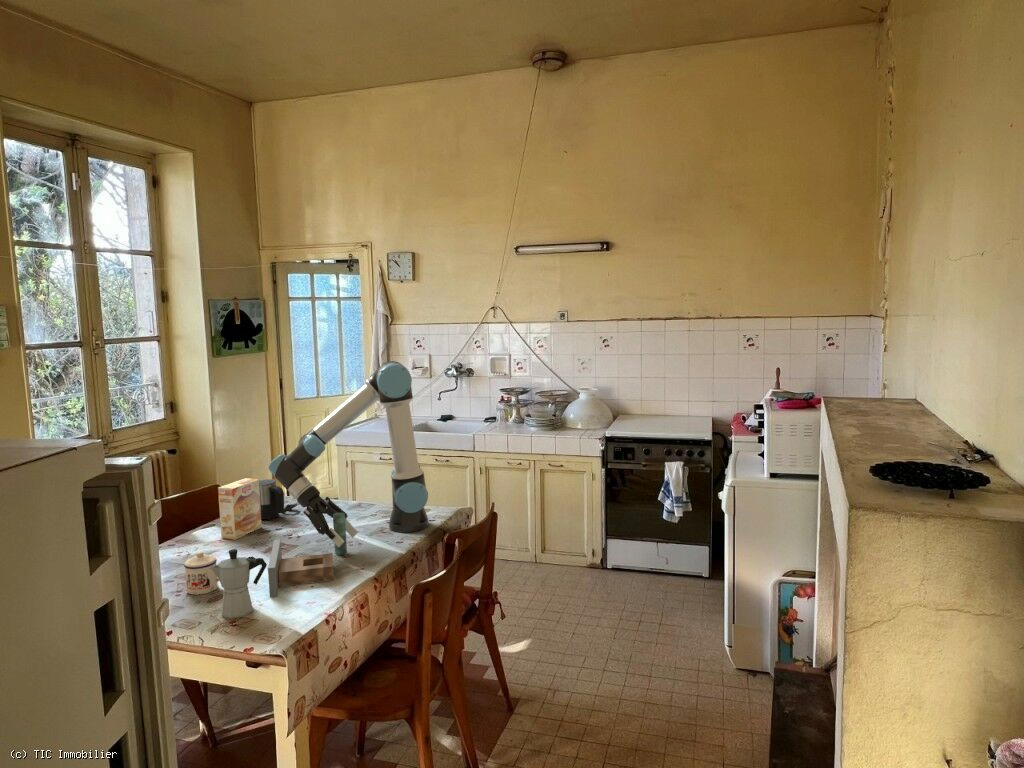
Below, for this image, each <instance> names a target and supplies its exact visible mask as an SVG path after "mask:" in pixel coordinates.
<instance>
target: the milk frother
mask: <svg viewBox="0 0 1024 768" xmlns="http://www.w3.org/2000/svg"><path fill="white" fill-rule="evenodd" d="M259 492H260V508H261V519H267V520H272V519H275V517H276V518H278V517H279V516H280V514H282V513H285V512H286V511H287V512H289V510H290V511H291V510H293V509H294V508H296V507H297V506H298V503H294V504H293V503H292V504H291V503H290V504H289V503H288V504H287V505H285V493H284V492H285V491H284V490H283V488H282V487H281V486H280V485H279V486H278V485H277V479H275V478H274V479H272V478H270V479H259ZM277 516H278V517H277ZM271 518H272V519H271Z"/></svg>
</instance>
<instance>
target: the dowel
mask: <svg viewBox="0 0 1024 768" xmlns="http://www.w3.org/2000/svg"><path fill="white" fill-rule="evenodd" d="M345 513H346V512H345ZM345 513H335V514H333V518H332V523H333V525H332V526H333V527H332V528H333V530H334V531H335V532H336V533H337V534H338V535H339V536H340V537H341V538H342V539H343V540H344V541H345V542H344V543H343V544H342V545H341V546H340V547H338V546H337V545H336V544H335V543H334V542H333V544H334V554H336V555H335V556H337V555H342V556H344V555H343V554H345V555H347V554H346V553H348V548H347V531H346V526H345Z"/></svg>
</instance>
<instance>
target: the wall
mask: <svg viewBox="0 0 1024 768" xmlns="http://www.w3.org/2000/svg"><path fill="white" fill-rule="evenodd" d="M269 557H270V558H269V562H268V565H267V572H268V573H267V576H268V577H267V578H268V588H269V590H268V591H269V598H270V599H271V598H278V594H279V588H280V587H279V568H280V562H281V559H283V556H282V541H281V539H280V538H279V539H274V540H273V545H272V548H271V553H270V556H269Z"/></svg>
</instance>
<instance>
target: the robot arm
mask: <svg viewBox="0 0 1024 768" xmlns="http://www.w3.org/2000/svg"><path fill="white" fill-rule="evenodd" d="M413 398H414V397H413V389H412V375H411V373H410V370H409V369H408V368H407V367H406V366H405V365H403V363H400V362H398V361H396V360H395V361H394V360H390V361H389V360H388V361H385V362H383V363H382V364H381V365H380V366H378V368H377V369H375V371H374V372H373V373H372V374H371V375H370V376H369V377H368V378H367V379H365V384H364V385H363V386H361V387H360V388H358V390H357V391H355V393H353V394H352V395H350V397H349V398H347V399H346V400H345V401H344V402H343V403H342V404H340V405H338V407H336V408H335V409H334V410H333V411H332V412H330V414H328V415H327V416H326V417H324V418H323V420H321V421H320V422H319V423H317V425H316V426H314V427H313V428H312V429H311V430H310V431H308V432H307V433H305V434H303V435H302V436H301V437H300V438H299V440H298V444H297V447H295V449H293V450H292V452H290V453H289V454H288V455H286V454H284V453H282V454H279V455H278V456H276V457H275V458H273V459H272V461H270V463H269V464H268V470H269V471H270V473H271V474H272V475H273V477H274V479H275V480H276V481H278V482H279V483H280V484H281V485H282V486H283V487H284V488H285V489H286V491H287V492H288V493H289V494H290V495H291V496H292V498H293V499H294V500H296V501H297V502H298V504H299V505H300V506H301V507H302V508H305V509H304V510H303V514H304V515H305V516H306V517H307V518H308V520H309V521H310V522H311V524H312V525H313V528H315V530H316V531H317V533H318V534H321V536H324V535H326V536H327V538H329V539H330V540H331V541H332V542H333V544H334V543H335V544H336V545H337V546H338V547H340V546H341V545H342V544H343V543H344V542H345V541H344V540H343V539H342V538H341V537H340V536H339V535H338V534H337V533H336V532H335V531H334V528H333V527H330V526H329V524H328V521H327V520H326V517H325V515H327V516H330V517H331V518H332V519H333V514H335V513H345V526H346V533H348V535H349V536H350V537H351V538H352V539H354V537H355V536H356V535H357V534H358V533H359V531H358V530H357V529H356V528H355V527H354V526H353V525H352V523H351V522H350V521H349V520H348V519H347V518H348V513H346V511H344V509H342V508H341V507H339V506H338V504H336V503H335V502H334V501H332V500H331V498H330V497H329V496H326V497H325V498H322V497H321V492H320V491H319V489H318V488H317V487H316V486H315V485H313V483H312V482H311V481H310V480H309V479H308V477H306V475H304V473H303V471H305V470H306V469H307V468H308V467H309V466H310V465H311V464H312V463H313V462H315V460H316V459H317V458H319V457H320V456H321V455H322V454H323V453H324V452H325V450H326V445H327V444H328V443H329V442H330V441H332V440H333V439H334V438H335V437H337V435H338V434H340V433H341V432H342V431H344V430H345V429H346V428H348V426H349V425H350V424H352V423H354V421H356V420H357V419H358V418H359V417H360V416H361V415H362V414H363V413H365V412H366V411H367V410H368V409H369V408H371V407H372V406H373V405H375V404H376V403H377V402H378V401H379V402H380V404H381V405H382V406H384V408H385V414H386V419H387V426H388V434H389V439H390V440H389V441H390V447H391V452H392V453H391V454H392V461H393V466H394V468H393V469H391V475H390V478H391V491H392V492H391V493H392V494H391V495H392V509H391V510H392V511H391V514H390V516H389V521H388V527H389V529H390V531H393V532H397V533H412V532H413V531H414V532H419V531H422V530H425V529H427V528H428V527H429V526H428V525H430V524H429V523H430V522H429V517H428V515H427V511H426V509H425V507H426V505H427V502H428V500H429V491H428V489H427V485H426V479H425V474H424V472H425V471H424V470H423V469H422V467H419V461H418V459H419V458H418V453H417V448H416V440H415V434H414V433H415V432H414V425H413V419H412V413H411V406H410V403H411V402H412V400H413ZM426 527H427V528H426ZM424 528H425V529H424ZM418 530H419V531H418Z"/></svg>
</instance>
